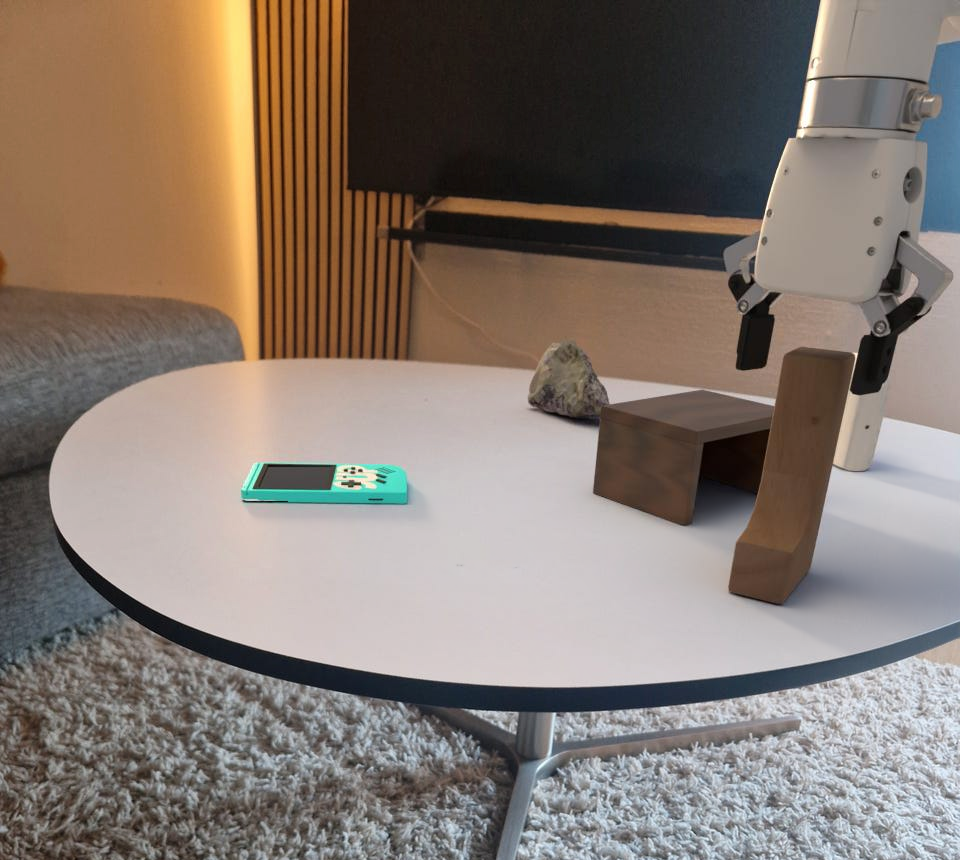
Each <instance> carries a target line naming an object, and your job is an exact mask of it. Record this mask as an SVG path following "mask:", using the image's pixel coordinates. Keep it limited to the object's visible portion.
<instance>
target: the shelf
mask: <svg viewBox="0 0 960 860" xmlns="http://www.w3.org/2000/svg"><path fill="white" fill-rule="evenodd" d="M774 406H775V405H772V404H766V403H763V402H758V401H754V400H750V399H745V398H741V397H737V396H732V395H727V394H725V393H720V392H715V391H710V390H706V389H697V390H690V391H685V392H679V393H672V394H668V395H666V394H665V395H660V396H654V397H647V398H642V399H636V400H629V401H628V400H627V401H623V402H616V403H610V404H609V405H603V406H601V415H600V417H599V426H598V436H597V446H596V456H595V457H596V458H595V468H594V478H593V488H592V493H593V494H594V495H598V496H600V497H603V498H605V499H609V500H612V501H614V502H617V503H620V504H623V505H625V506H628V507H631V508H633V509H637V510H639V511H642V512H645V513H647V514H650V515H652V516H656V517H657V518H661V519H664V520H667V521H670V522H672V523H674V524H675V523H676V524H678V525H681V526H687V525H690V524H692V523H693V518H694V511H695V503H696V497H697V490H698V484H699V477H702V478H704V479H708V478H709V479H708V480H711V481H715V482H718V483H722V484H724V483H725V484H724V485H728V486H731V487H734V488H737V489H740V490H744V491H747V492H750V493H753V494H757V495H758V491H759V487H760V483H761V478H762V473H763V467H764V462H765V456H766V450H767V445H768V439H769V434H770V428H771V423H772V417H773V412H774Z"/></svg>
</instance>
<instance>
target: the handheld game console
mask: <svg viewBox="0 0 960 860" xmlns="http://www.w3.org/2000/svg"><path fill="white" fill-rule="evenodd" d="M240 492H241V493H240V494H241V499H242V498H243V499H258V500H274V501H275V500H276V501H288V502H287V503H309V504H310V503H311V504H312V503H315V504H316V503H317V504H319V503H321V504H322V503H324V504H330V503H331V504H394V505H395V504H401V505H402V504H403V505H405V504H407V502H408V476H407V472H406V471H405V470H404V469H403V468H402V467H400V466H398V465H394V464H385V463H327V462H326V463H324V462H321V463H320V462H318V463H317V462H266V461H265V462H254V463H253V465H252V467H251V468H250V471H249V473H248V475H247V477H246V479H245V480H244V483H243V484H242V487H241V489H240Z"/></svg>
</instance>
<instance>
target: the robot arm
mask: <svg viewBox="0 0 960 860" xmlns="http://www.w3.org/2000/svg"><path fill="white" fill-rule="evenodd" d="M815 23H816V24H815V30H814V35H813V39H812V45H811V52H810V57H809V63H808V68H807V74H806V80H805V81H806V82H805V85H804V90H803V96H802V101H801V107H800V113H799V117H798V118H799V119H798V123H797V130H796V135H795V137H788V140H787V142H786V144H785V147H784V150H783V152H782V154H781V158H780V161H779V164H778V166H777V169H776V172H775V174H774V179H773V181H772V185H771V188H770V191H769V196H768V199H767V202H766V207H765V212H764V215H763V219H762V224H761V228H760V229H759V230H758V231H756V232H753V234H750V235H749V236H746V237H745V238H742V239H741V240H739V241H737V242H735V243H733V244H731V245H729V246H728V247H726V248H725V249H724V250H723V253H722V255H723V261H724V265H725V270H726V276H728V281H727V286H728V289H729V291H730V292H731V294H732V296H733V298H734V299H735V301H736V307H735V308H736V312H737V313H738V314H739V315H742V316H741V320H740V321H741V322H740V328H739V334H738V339H737V345H736V361H735V369H736V370H737V371H742V372H744V371H745V372H746V371H752V370H753V371H754V370H759V369H763V368H765V367H766V366H767V365H768V360H769V353H770V349H771V344H772V338H773V333H774V327H775V321H776V318H775V314H772V313H770V310H771V309H772V308H773V307H774V306H775V304H777V303H778V302H779V301H780V300H781V299H782V298H783V296H785V294H786V295H793V296H800V297H807V298H814V299H822V300H829V301H830V300H831V301H836V302H842V303H843V302H844V303H858V304H859V306H860V309H861V311H862V313H863V315H864V317H865V320H866V322H867V324H868V326H869V328H870V332H869V334H864V335H863V336H862V337H861V339H860V342H859V347H858V351H857V353H858V355H857V359H856V364H855V368H854V373H853V377H852V381H851V386H850V392H852V394H855V395H866V394H871V393H877V392H879V391H880V389H881V387H882V384H883V383H885V382H886V380H887V378H888V375H889V376H890V371H891V367H892V362H893V358H894V354H895V351H896V346H897V342H898V337H899V336H901V335H904V334H906V332H908V330H909V328H910V327H911V326H913V325H914V324H915V323H916V322H918V321H920V320H921V319H922V318H923V317H925V316H926V315H927V314H929V313H930V311H931V310H932V307H933V305H934V303H936V302H937V301H938V300H939V298H940V297H941V296H942V294H943V293H944V292H945V291H946V290H947V288H948V287H949V286H950V284H951V283H952V281H953V280H954V272H953V270H952V269H951V268H949V266H947V265H946V264H944V263H943V262H942V261H940V260H939V259H938V258H937V257H935V256H934V255H933V254H931V253H930V252H929V251H928V250H927V249H925V248H924V247H923V246H921V245H920V244H918V243H919V239H920V233H921V232H920V231H921V226H922V219H923V211H924V205H925V196H926V184H927V183H926V182H927V171H928V170H927V167H928V143H927V142H925V141H919V140H918V141H917V140H916V138H917V133H919V132H920V131H921V127H922V123H923V122H925V121H926V120H935V119H937V118H938V117H939V116H940V114H941V112H942V108H943V102H944V101H943V95H941V94H939V93H938V94H937V93H936V94H932V93H931V92H930V88H931V85H929V81H930V77H931V72H932V68H933V64H934V60H935V55H936V51H937V47H938V46H940V45H945V44H949V43H956V42H960V0H820V2H819V7H818V13H817V19H816V22H815ZM754 257H755V261H754V276H753V275H752V274H751V273H750V270H751V269H750V262H751V260H752V258H754ZM912 274H913V275H914V276H915V277H916V278H917V282H918V283H917V285H916V287H915V289H914V290H913V293H912V294H911V295H910V296H909V297H908V298H906V299H905V300H904V301H902V302H900V301H899V299H900V298H901V297H903V296H904V295H905V293H906V292H907V289H908V288H909V285H910V281H911V278H912Z"/></svg>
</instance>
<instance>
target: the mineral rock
mask: <svg viewBox="0 0 960 860" xmlns="http://www.w3.org/2000/svg"><path fill="white" fill-rule="evenodd" d="M528 389H529V390H528V391H529V392H528V395H527V403H528V405H530V406H531V407H532V408H537V409H540V410H544V411H545V412H547V413H557V414H558V415H561V416H567V417H569V418H575V419H581V418H582V419H583V418H588V419H590V420H591V419H596V418H600V415H601V406H603V405H609V404H611V403H610V399H609V396H608V391H607V389H606V387H605V386H604V384H603V383H602V382H601V381H600V380H599V378H598V375H597V373H595V370H594V368H593V365H592V361H591V359H590V357H589V356H588V355H587V353H586V352H585V351H584V349H582V348H581V347H579V346H578V345H577V343H576V340H574V339H573V338H571V339H564V340H562V341H561V343H559V342H556V341H555V342H552V343H551V344H550V345H549V346H548V348H547V349H546V350H545V352H544V353H543V355H542V356H541V358H540V360H539V362H538V364H537V366H536V368H535V372H534V375H533V377H532V378H531V380H530V384H529V387H528Z"/></svg>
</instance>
